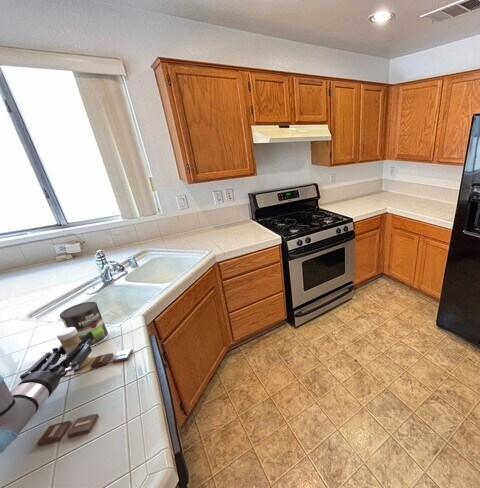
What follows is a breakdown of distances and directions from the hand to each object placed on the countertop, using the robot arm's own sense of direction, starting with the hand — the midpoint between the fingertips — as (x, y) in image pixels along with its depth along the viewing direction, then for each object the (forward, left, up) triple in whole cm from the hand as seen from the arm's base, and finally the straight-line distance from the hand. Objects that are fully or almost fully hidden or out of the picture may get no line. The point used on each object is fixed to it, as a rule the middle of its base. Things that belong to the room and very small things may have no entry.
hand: (82, 337), depth 90 cm
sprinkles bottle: (0, -5, -7) cm, 9 cm away
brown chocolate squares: (+10, -31, -8) cm, 34 cm away
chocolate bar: (+5, -5, -8) cm, 11 cm away
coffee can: (-4, +10, -8) cm, 13 cm away
